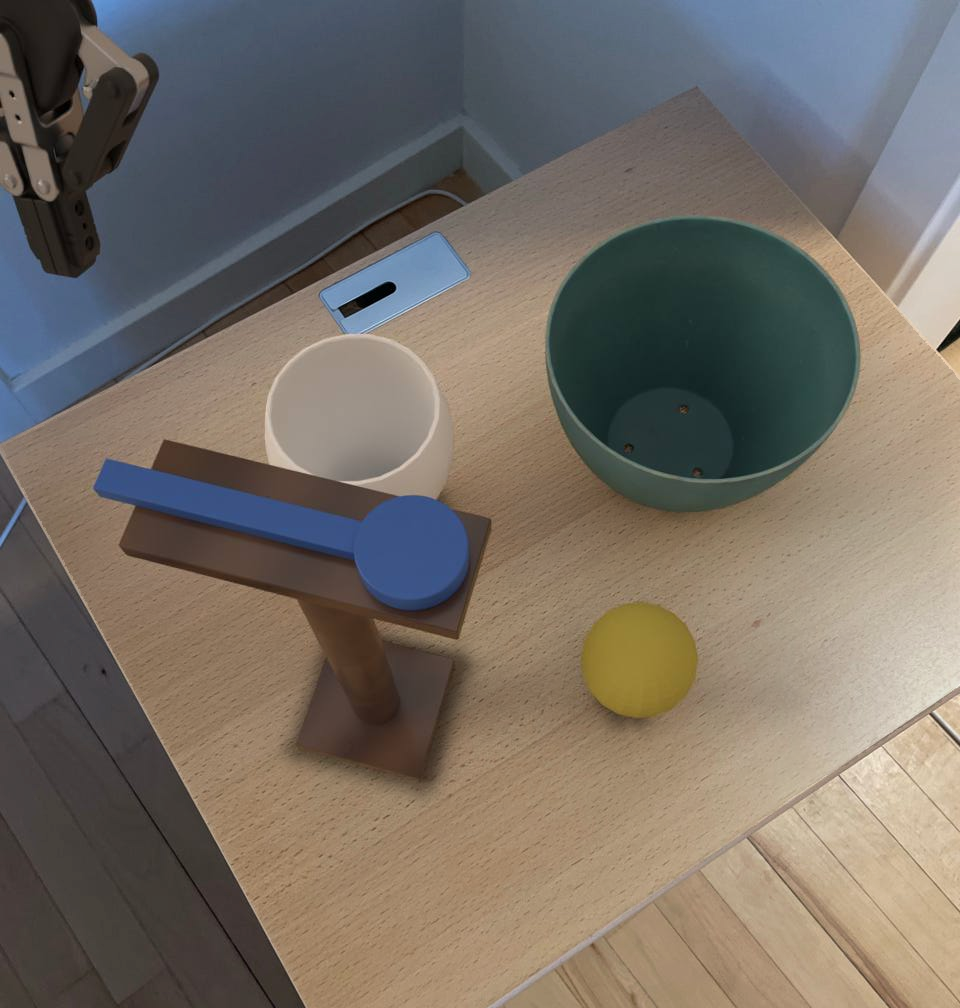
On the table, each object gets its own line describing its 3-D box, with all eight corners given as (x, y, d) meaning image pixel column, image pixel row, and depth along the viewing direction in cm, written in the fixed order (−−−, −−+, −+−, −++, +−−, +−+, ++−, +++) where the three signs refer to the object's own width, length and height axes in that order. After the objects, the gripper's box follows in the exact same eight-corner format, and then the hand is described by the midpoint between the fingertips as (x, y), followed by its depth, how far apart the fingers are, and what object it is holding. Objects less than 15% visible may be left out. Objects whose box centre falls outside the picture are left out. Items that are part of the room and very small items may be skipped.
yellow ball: (699, 707, 64) (733, 658, 55) (612, 763, 63) (632, 724, 54) (637, 623, 66) (660, 563, 57) (552, 677, 65) (561, 624, 56)
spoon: (85, 530, 41) (73, 516, 39) (126, 436, 42) (116, 420, 41) (452, 623, 39) (450, 612, 38) (482, 522, 40) (482, 509, 39)
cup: (492, 542, 68) (490, 425, 54) (360, 630, 67) (323, 532, 52) (403, 431, 71) (379, 292, 57) (275, 512, 70) (217, 389, 55)
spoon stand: (253, 736, 64) (103, 579, 40) (294, 622, 67) (176, 407, 42) (466, 794, 63) (446, 668, 38) (500, 675, 65) (501, 485, 41)
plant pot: (822, 558, 68) (889, 469, 56) (549, 577, 68) (560, 491, 56) (778, 328, 74) (830, 205, 62) (527, 345, 74) (532, 224, 62)
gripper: (-316, -204, 34) (-99, 284, 47) (22, -179, 31) (155, 333, 44) (-154, -236, 39) (2, 214, 51) (152, -217, 36) (237, 254, 49)
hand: (72, 268), depth 48 cm, fingers closed
